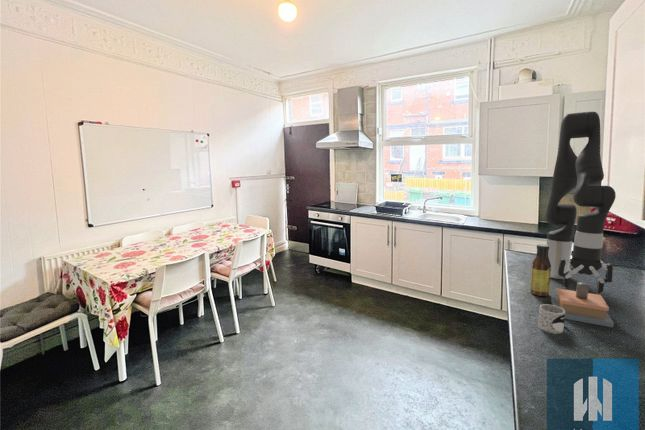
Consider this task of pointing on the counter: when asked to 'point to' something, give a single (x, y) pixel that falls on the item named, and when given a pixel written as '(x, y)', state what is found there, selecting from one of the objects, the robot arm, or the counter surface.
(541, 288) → the sauce bottle
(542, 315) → the mug
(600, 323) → the socket stand
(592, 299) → the lid
